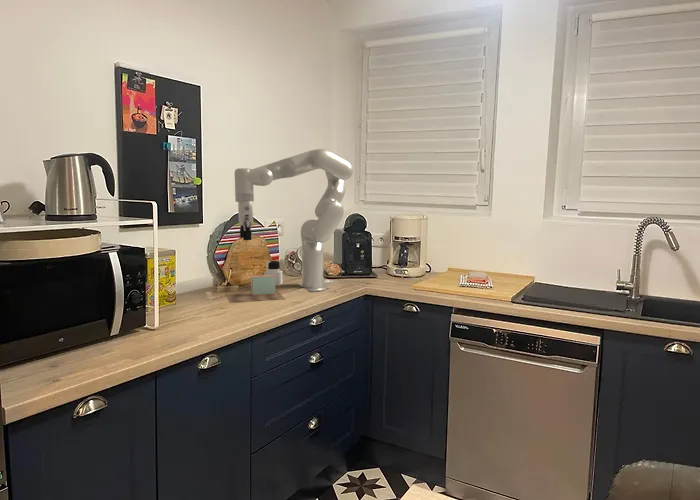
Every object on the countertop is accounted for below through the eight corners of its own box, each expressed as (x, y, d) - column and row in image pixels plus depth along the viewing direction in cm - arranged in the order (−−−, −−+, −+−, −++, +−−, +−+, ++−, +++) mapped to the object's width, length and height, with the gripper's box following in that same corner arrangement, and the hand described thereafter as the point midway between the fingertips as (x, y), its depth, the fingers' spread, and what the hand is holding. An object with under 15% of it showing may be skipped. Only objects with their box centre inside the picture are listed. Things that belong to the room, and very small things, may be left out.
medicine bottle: (282, 285, 245) (282, 260, 243) (278, 288, 238) (278, 262, 236) (267, 285, 246) (267, 259, 244) (263, 288, 239) (263, 262, 237)
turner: (255, 291, 231) (255, 283, 231) (258, 294, 225) (258, 286, 224) (216, 293, 225) (216, 285, 225) (218, 297, 219) (218, 289, 219)
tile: (274, 293, 221) (274, 274, 220) (275, 294, 219) (275, 275, 218) (250, 294, 217) (250, 276, 216) (251, 295, 215) (251, 276, 214)
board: (277, 294, 225) (277, 291, 225) (285, 302, 210) (285, 299, 210) (225, 297, 218) (225, 294, 217) (230, 306, 203) (230, 302, 203)
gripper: (257, 198, 211) (258, 240, 214) (250, 197, 227) (251, 236, 230) (238, 199, 209) (239, 241, 211) (232, 197, 225) (234, 237, 227)
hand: (245, 238), depth 221 cm, fingers open, 9 cm apart
